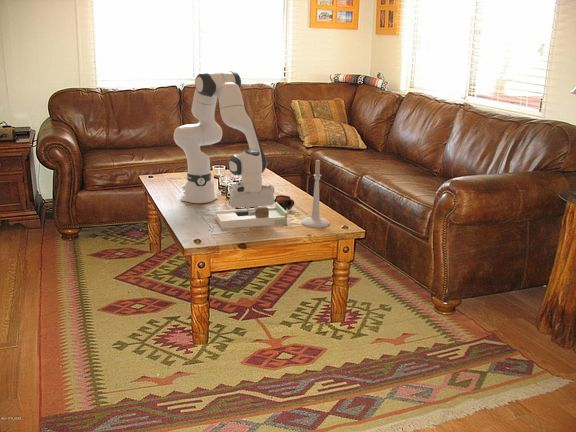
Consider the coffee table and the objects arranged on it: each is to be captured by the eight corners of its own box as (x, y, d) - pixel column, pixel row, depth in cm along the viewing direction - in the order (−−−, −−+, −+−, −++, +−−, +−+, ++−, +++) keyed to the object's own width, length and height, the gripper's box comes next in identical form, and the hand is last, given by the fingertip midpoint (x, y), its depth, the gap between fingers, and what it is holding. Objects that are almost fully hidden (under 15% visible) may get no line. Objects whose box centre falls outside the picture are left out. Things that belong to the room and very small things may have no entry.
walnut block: (255, 216, 284) (255, 206, 283) (265, 215, 285) (266, 206, 284) (257, 219, 279) (258, 209, 278) (268, 218, 281) (268, 209, 279)
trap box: (215, 218, 288) (215, 206, 286) (277, 213, 297) (277, 202, 295) (222, 228, 273) (222, 216, 272) (286, 224, 282) (287, 212, 281)
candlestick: (308, 229, 276) (311, 163, 267) (296, 220, 287) (298, 157, 278) (334, 226, 281) (337, 161, 272) (321, 218, 292) (324, 155, 283)
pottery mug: (268, 211, 302) (270, 195, 304) (280, 215, 310) (281, 199, 312) (288, 209, 295) (290, 193, 297) (299, 214, 303) (301, 198, 305)
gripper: (272, 183, 282) (272, 212, 286) (228, 185, 277) (228, 214, 281) (276, 186, 277) (275, 216, 281) (231, 188, 271) (231, 218, 275)
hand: (251, 215), depth 281 cm, fingers closed
